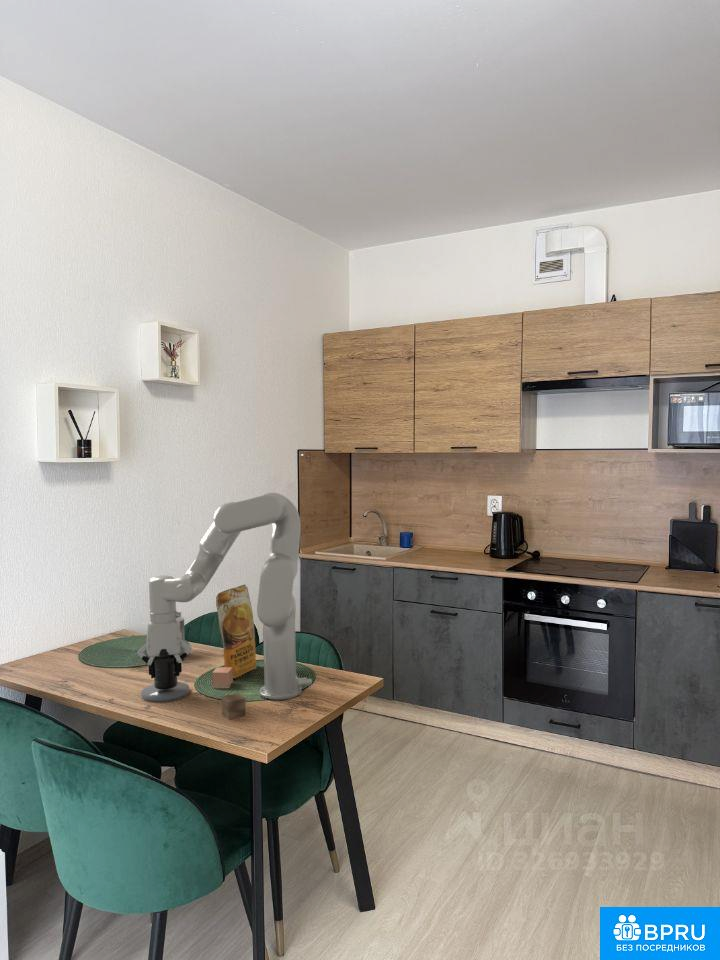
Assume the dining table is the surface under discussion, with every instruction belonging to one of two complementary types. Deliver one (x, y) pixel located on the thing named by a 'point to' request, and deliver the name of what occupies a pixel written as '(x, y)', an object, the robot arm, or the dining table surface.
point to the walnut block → (233, 706)
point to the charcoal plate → (165, 693)
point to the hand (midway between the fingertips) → (165, 675)
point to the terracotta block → (222, 676)
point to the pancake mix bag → (237, 629)
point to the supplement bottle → (165, 670)
